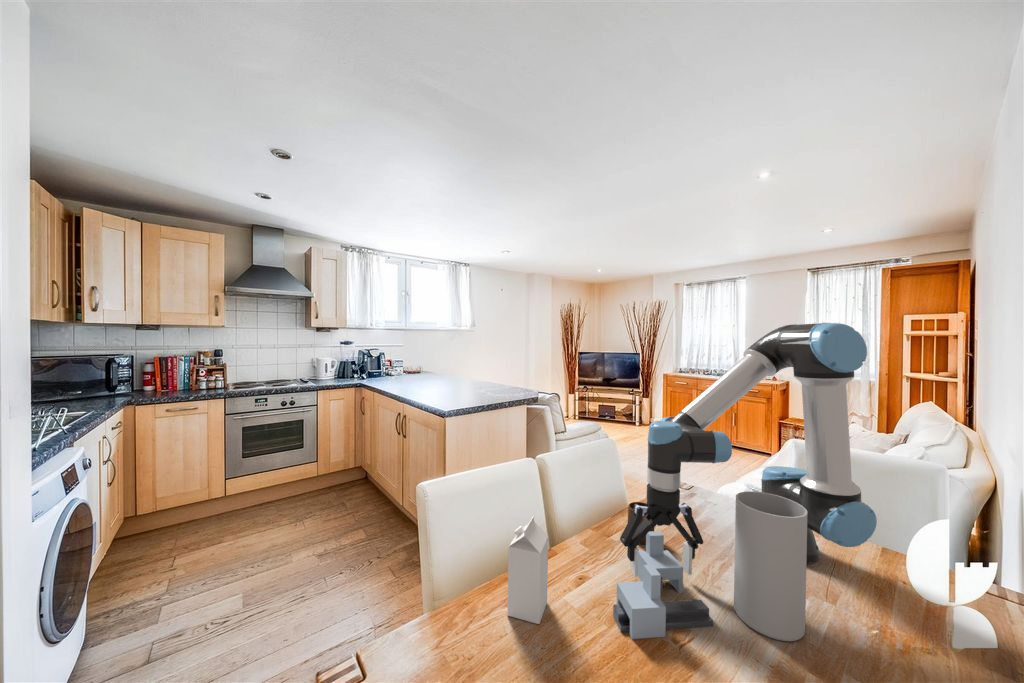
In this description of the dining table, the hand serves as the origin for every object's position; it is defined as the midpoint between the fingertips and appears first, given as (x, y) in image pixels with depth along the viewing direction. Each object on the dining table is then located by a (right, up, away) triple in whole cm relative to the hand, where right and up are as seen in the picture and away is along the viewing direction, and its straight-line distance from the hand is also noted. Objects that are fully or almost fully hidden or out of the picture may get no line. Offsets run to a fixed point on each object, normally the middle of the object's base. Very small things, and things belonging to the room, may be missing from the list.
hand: (660, 572), depth 90 cm
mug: (+2, -3, +18) cm, 19 cm away
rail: (-5, -3, -12) cm, 13 cm away
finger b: (0, -3, 0) cm, 3 cm away
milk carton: (-33, -2, -9) cm, 34 cm away
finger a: (-10, -3, -12) cm, 16 cm away
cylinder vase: (+18, -3, -11) cm, 22 cm away
